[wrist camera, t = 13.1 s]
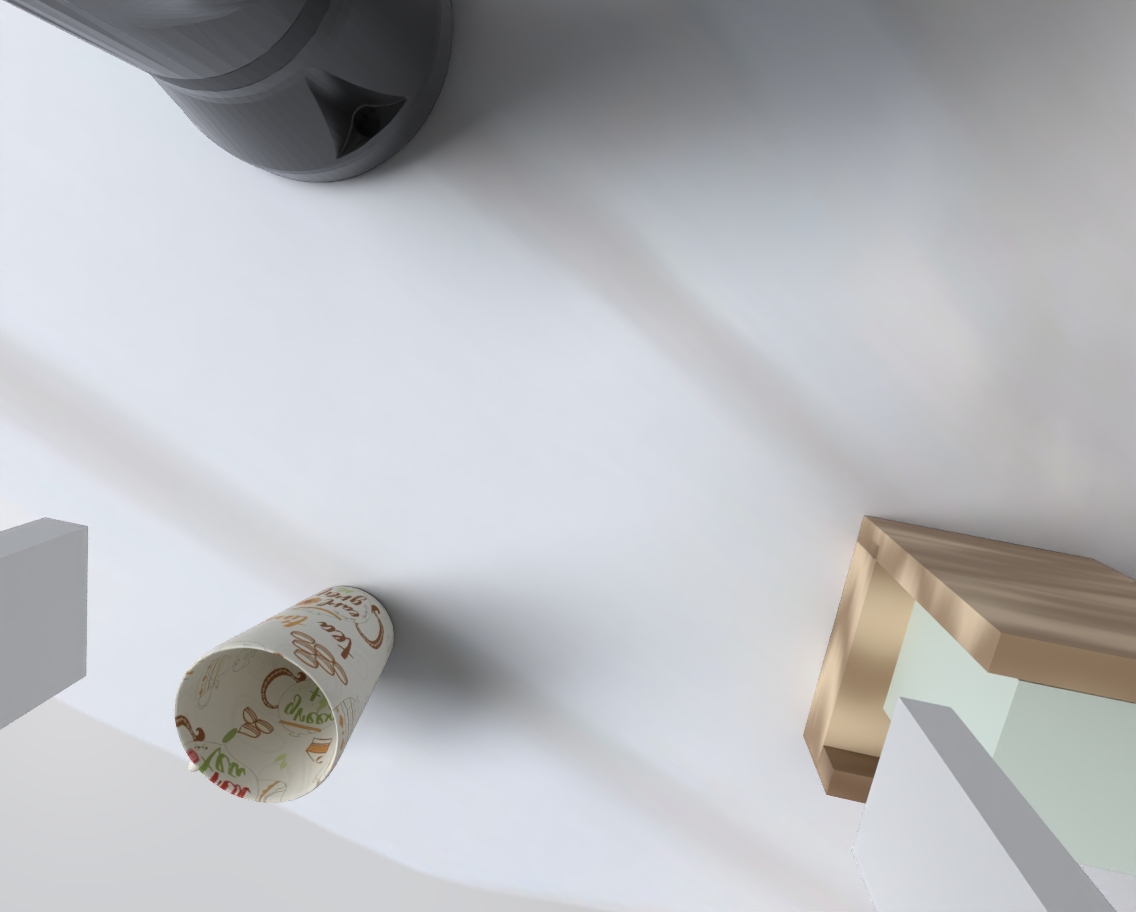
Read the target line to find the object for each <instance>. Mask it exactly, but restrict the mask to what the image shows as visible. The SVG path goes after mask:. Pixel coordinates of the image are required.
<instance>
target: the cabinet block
mask: <svg viewBox="0 0 1136 912" xmlns="http://www.w3.org/2000/svg"><path fill="white" fill-rule="evenodd" d="M899 696H900V697H904V698H909V699H914V700H919V701H923V702H928V703H933V704H938V705H942V706H947V707H951V708H952V709H953V710H954V711H955V713H956V714H957V715H958V716H959V718H960V719H961V720H962V721H963V722H964V724H965V725H966V726H967V727H968V729H969V730H970V731H971V732H972V734H973V735H974V736H975V737H976V739H977V740H978V741H979V742H980V743H981V745H982V746H983V747H984V748H985V750H986V751H987V752H988V753H989V755H990V756H991V757H992V758H993V760H994V761H995V762H996V763H997V765H998V766H999V767H1000V768H1001V769H1002V771H1003V772H1004V773H1005V774H1006V776H1007V777H1008V778H1009V779H1010V781H1011V782H1012V783H1013V784H1014V786H1015V787H1016V788H1017V789H1018V790H1019V792H1020V793H1021V794H1022V795H1023V797H1024V798H1025V799H1026V800H1027V802H1028V803H1029V804H1030V805H1031V807H1032V808H1033V809H1034V810H1035V811H1036V813H1037V814H1038V815H1039V816H1040V818H1041V819H1042V820H1043V821H1044V823H1045V824H1046V825H1047V826H1048V828H1049V829H1050V830H1051V831H1052V833H1053V834H1054V835H1055V836H1056V837H1057V839H1058V840H1059V841H1060V842H1061V844H1062V845H1063V846H1064V847H1065V849H1066V850H1067V851H1068V852H1069V854H1070V855H1071V856H1072V857H1073V858H1074V860H1075V861H1076V862H1077V863H1078V864H1082V865H1086V866H1091V867H1095V868H1100V869H1104V870H1109V871H1113V872H1118V873H1123V874H1127V875H1132V876H1136V703H1134V702H1129V701H1124V700H1119V699H1114V698H1109V697H1104V696H1099V695H1095V694H1090V693H1085V692H1080V691H1075V690H1070V689H1065V688H1060V687H1056V686H1051V685H1046V684H1041V683H1036V682H1031V681H1026V680H1021V679H1016V678H1012V677H1007V676H1002V675H997V674H992V673H988V672H987V671H986V670H985V669H984V668H983V667H982V666H981V665H980V664H979V663H978V662H977V661H976V660H975V659H974V658H973V657H972V656H971V655H970V654H969V653H968V652H967V651H966V650H965V649H964V648H963V647H962V646H961V645H960V644H959V643H958V642H957V641H956V640H955V639H954V638H953V637H952V636H951V635H950V634H949V633H948V632H947V631H946V630H945V629H944V628H943V627H942V626H941V625H940V624H939V623H938V622H937V621H936V620H935V619H934V618H933V617H932V616H931V615H930V614H929V613H928V612H927V611H926V610H925V609H924V608H923V607H922V606H921V605H920V604H919V603H918V602H917V601H916V600H915V603H914V606H913V610H912V613H911V617H910V620H909V623H908V627H907V630H906V633H905V637H904V640H903V643H902V647H901V650H900V654H899V657H898V660H897V664H896V667H895V670H894V674H893V677H892V680H891V684H890V687H889V691H888V694H887V697H886V701H885V704H884V707H883V709H884V711H885V712H886V714H887V716H888V717H889V719H890V720H892V717H893V714H894V710H895V707H896V704H897V701H898V697H899Z"/></svg>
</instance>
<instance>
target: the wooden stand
mask: <svg viewBox="0 0 1136 912" xmlns="http://www.w3.org/2000/svg"><path fill="white" fill-rule="evenodd" d="M915 600H916V601H917V602H918V603H919V604H920V605H921V606H922V607H923V608H924V609H925V610H926V611H927V612H928V613H929V614H930V615H931V616H932V617H933V618H934V619H935V620H936V621H937V622H938V623H939V624H940V625H941V626H942V627H943V628H944V629H945V630H946V631H947V632H948V633H949V634H950V635H951V636H952V637H953V638H954V639H955V640H956V641H957V642H958V643H959V644H960V645H961V646H962V647H963V648H964V649H965V650H966V651H967V652H968V653H969V654H970V655H971V656H972V657H973V658H974V659H975V660H976V661H977V662H978V663H979V664H980V665H981V666H982V667H983V668H984V669H985V670H986V671H987V672H988V673H992V674H997V675H1002V676H1007V677H1012V678H1016V679H1021V680H1026V681H1031V682H1036V683H1041V684H1046V685H1051V686H1056V687H1060V688H1065V689H1070V690H1075V691H1080V692H1085V693H1090V694H1095V695H1099V696H1104V697H1109V698H1114V699H1119V700H1124V701H1129V702H1134V703H1136V581H1135V580H1133V579H1131V578H1129V577H1127V576H1125V575H1123V574H1121V573H1119V572H1117V571H1115V570H1113V569H1111V568H1109V567H1108V566H1106V565H1104V564H1102V563H1100V562H1098V561H1096V560H1094V559H1091V558H1085V557H1080V556H1075V555H1069V554H1064V553H1059V552H1054V551H1048V550H1043V549H1038V548H1033V547H1027V546H1022V545H1017V544H1012V543H1006V542H1001V541H996V540H990V539H985V538H980V537H975V536H969V535H964V534H959V533H954V532H948V531H943V530H938V529H932V528H927V527H922V526H917V525H911V524H906V523H901V522H896V521H890V520H885V519H880V518H875V517H869V516H864V518H863V522H862V525H861V529H860V533H859V536H858V540H857V543H856V547H855V551H854V554H853V558H852V561H851V565H850V569H849V572H848V576H847V579H846V583H845V587H844V590H843V594H842V598H841V601H840V605H839V608H838V612H837V616H836V619H835V623H834V626H833V630H832V634H831V637H830V641H829V644H828V648H827V652H826V655H825V659H824V662H823V666H822V670H821V673H820V677H819V681H818V684H817V688H816V691H815V695H814V699H813V702H812V706H811V709H810V713H809V717H808V720H807V724H806V727H805V731H804V735H803V736H804V739H805V741H806V744H807V746H808V749H809V751H810V754H811V757H812V759H813V762H814V764H815V767H816V769H817V772H818V774H819V777H820V779H821V782H822V785H823V787H824V790H825V792H826V795H830V796H835V797H839V798H844V799H848V800H853V801H857V802H862V803H866V801H867V798H868V795H869V792H870V788H871V785H872V782H873V779H874V775H875V772H876V769H877V766H878V762H879V759H880V756H881V753H882V749H883V746H884V743H885V740H886V736H887V733H888V730H889V727H890V723H891V720H890V719H889V717H888V716H887V714H886V712H885V711H884V709H883V707H884V704H885V701H886V697H887V694H888V691H889V687H890V684H891V680H892V677H893V674H894V670H895V667H896V664H897V660H898V657H899V654H900V650H901V647H902V643H903V640H904V637H905V633H906V630H907V627H908V623H909V620H910V617H911V613H912V610H913V606H914V603H915Z"/></svg>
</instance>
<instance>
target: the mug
mask: <svg viewBox="0 0 1136 912" xmlns="http://www.w3.org/2000/svg"><path fill="white" fill-rule="evenodd" d="M393 642H394V630H393V625H392V622H391V619H390V617H389V615H388V613H387V611H386V610H385V608H384V607H383V606H382V605H381V603H380V602H379V601H378V600H376V599H375V598H374V597H373V596H371V595H370V594H368V593H366V592H364V591H362V590H360V589H357V588H353V587H347V586H337V587H332V588H328V589H325V590H323V591H320V592H318V593H316V594H314V595H313V596H311V597H309V598H307V599H305V600H303V601H301V602H299V603H298V604H296V605H294V606H292V607H290V608H288V609H286V610H284V611H282V612H281V613H279V614H277V615H275V616H273V617H271V618H269V619H267V620H266V621H264V622H262V623H260V624H258V625H256V626H254V627H252V628H250V629H249V630H247V631H245V632H243V633H241V634H239V635H237V636H235V637H234V638H232V639H230V640H228V641H226V642H224V643H222V644H220V645H219V646H217V647H215V648H214V649H212V650H210V651H209V652H207V653H206V654H204V655H203V656H202V657H200V658H199V659H198V660H197V661H196V662H195V663H194V664H193V665H192V666H191V667H190V668H189V670H188V671H187V673H186V674H185V675H184V677H183V679H182V681H181V683H180V685H179V688H178V691H177V695H176V699H175V722H176V727H177V731H178V735H179V738H180V740H181V743H182V745H183V747H184V749H185V751H186V753H187V754H188V756H189V758H190V759H191V762H190V763H189V766H188V769H189V771H191V772H195V771H198V770H200V771H201V772H202V773H203V774H204V775H205V776H206V777H207V778H208V779H209V780H210V781H212V782H213V783H214V784H216V785H218V786H219V787H220V788H222V789H223V790H225V791H227V792H229V793H231V794H233V795H236V796H238V797H241V798H244V799H248V800H251V801H256V802H264V803H277V802H285V801H290V800H294V799H297V798H300V797H302V796H304V795H306V794H308V793H309V792H311V791H312V790H314V789H315V788H317V787H318V786H319V785H320V784H321V783H322V782H323V781H324V780H325V779H326V778H327V777H328V776H329V774H330V773H331V772H332V770H333V769H334V767H335V765H336V764H337V762H338V760H339V758H340V757H341V755H342V753H343V751H344V748H345V746H346V744H347V742H348V740H349V738H350V736H351V734H352V732H353V730H354V728H355V726H356V724H357V722H358V720H359V718H360V716H361V714H362V712H363V709H364V707H365V705H366V703H367V701H368V699H369V697H370V695H371V693H372V691H373V689H374V687H375V685H376V683H377V681H378V679H379V677H380V675H381V673H382V671H383V668H384V666H385V664H386V662H387V660H388V658H389V656H390V653H391V651H392V647H393Z"/></svg>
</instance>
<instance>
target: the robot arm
mask: <svg viewBox="0 0 1136 912" xmlns="http://www.w3.org/2000/svg"><path fill="white" fill-rule="evenodd" d="M4 1H6V2H8V3H10V4H12V5H14V6H16V7H18V8H20V9H22V10H24V11H26V12H28V13H30V14H32V15H34V16H36V17H38V18H40V19H42V20H43V21H45V22H47V23H49V24H51V25H53V26H55V27H57V28H59V29H61V30H63V31H65V32H67V33H69V34H71V35H73V36H75V37H77V38H79V39H81V40H83V41H85V42H87V43H89V44H91V45H93V46H95V47H97V48H99V49H101V50H103V51H105V52H107V53H109V54H111V55H113V56H115V57H117V58H119V59H121V60H123V61H125V62H127V63H129V64H131V65H133V66H135V67H137V68H139V69H141V70H143V71H145V72H147V73H149V74H150V75H151V76H152V77H153V78H154V79H155V80H156V81H157V83H158V84H159V85H160V86H161V87H162V88H163V89H164V90H165V92H166V93H167V94H168V95H169V96H170V97H171V98H172V99H173V100H174V101H175V102H176V104H177V105H178V106H179V107H180V108H181V109H182V110H183V111H184V113H185V114H186V115H187V116H188V118H189V119H190V120H191V121H192V122H193V123H194V125H195V126H196V127H197V128H198V129H199V130H200V131H201V132H203V133H204V134H205V135H206V136H207V137H208V138H209V139H211V140H212V141H213V142H214V143H216V144H217V145H218V146H220V147H221V148H223V149H224V150H226V151H227V152H228V153H230V154H232V155H233V156H235V157H237V158H239V159H240V160H243V161H245V162H247V163H249V164H251V165H254V166H256V167H258V168H261V169H263V170H266V171H268V172H270V173H273V174H276V175H278V176H282V177H285V178H289V179H293V180H298V181H306V182H329V181H337V180H342V179H347V178H350V177H354V176H357V175H359V174H362V173H364V172H367V171H369V170H371V169H373V168H375V167H377V166H378V165H380V164H382V163H383V162H385V161H386V160H388V159H389V158H391V157H392V156H393V155H395V154H396V153H397V152H398V151H399V150H400V149H402V148H403V147H404V146H405V145H406V144H407V143H408V142H409V141H410V139H411V138H412V137H413V136H414V135H415V134H416V132H417V131H418V130H419V128H420V127H421V126H422V124H423V123H424V121H425V120H426V118H427V117H428V115H429V113H430V111H431V110H432V108H433V106H434V104H435V102H436V100H437V97H438V95H439V93H440V90H441V87H442V85H443V82H444V78H445V75H446V71H447V67H448V62H449V57H450V51H451V42H452V8H451V0H4ZM87 565H88V526H84V525H79V524H74V523H70V522H65V521H60V520H55V519H51V518H46V517H45V518H42V519H39V520H36V521H32V522H29V523H26V524H23V525H20V526H17V527H14V528H10V529H7V530H4V531H1V532H0V729H2V728H4V727H5V726H7V725H8V724H10V723H12V722H13V721H15V720H16V719H18V718H19V717H21V716H23V715H24V714H26V713H27V712H29V711H31V710H32V709H34V708H35V707H37V706H38V705H40V704H42V703H43V702H45V701H47V700H48V699H50V698H51V697H53V696H55V695H56V694H58V693H59V692H61V691H63V690H64V689H66V688H67V687H69V686H70V685H72V684H74V683H75V682H77V681H78V680H80V679H82V678H83V677H85V676H86V646H87ZM851 851H852V853H853V856H854V858H855V861H856V863H857V866H858V868H859V871H860V873H861V876H862V879H863V881H864V884H865V886H866V889H867V891H868V894H869V896H870V899H871V901H872V904H873V906H874V909H875V911H876V912H1116V910H1115V909H1114V908H1113V907H1112V905H1111V904H1110V903H1109V902H1108V901H1107V899H1106V898H1105V897H1104V896H1103V894H1102V893H1101V892H1100V891H1099V889H1098V888H1097V887H1096V886H1095V884H1094V883H1093V882H1092V881H1091V879H1090V878H1089V877H1088V876H1087V875H1086V873H1085V872H1084V871H1083V870H1082V868H1081V867H1080V866H1079V865H1078V863H1077V862H1076V861H1075V860H1074V858H1073V857H1072V856H1071V855H1070V854H1069V852H1068V851H1067V850H1066V849H1065V847H1064V846H1063V845H1062V844H1061V842H1060V841H1059V840H1058V839H1057V837H1056V836H1055V835H1054V834H1053V833H1052V831H1051V830H1050V829H1049V828H1048V826H1047V825H1046V824H1045V823H1044V821H1043V820H1042V819H1041V818H1040V816H1039V815H1038V814H1037V813H1036V811H1035V810H1034V809H1033V808H1032V807H1031V805H1030V804H1029V803H1028V802H1027V800H1026V799H1025V798H1024V797H1023V795H1022V794H1021V793H1020V792H1019V790H1018V789H1017V788H1016V787H1015V786H1014V784H1013V783H1012V782H1011V781H1010V779H1009V778H1008V777H1007V776H1006V774H1005V773H1004V772H1003V771H1002V769H1001V768H1000V767H999V766H998V765H997V763H996V762H995V761H994V760H993V758H992V757H991V756H990V755H989V753H988V752H987V751H986V750H985V748H984V747H983V746H982V745H981V743H980V742H979V741H978V740H977V739H976V737H975V736H974V735H973V734H972V732H971V731H970V730H969V729H968V727H967V726H966V725H965V724H964V722H963V721H962V720H961V719H960V718H959V716H958V715H957V714H956V713H955V711H954V710H953V709H952V708H951V707H947V706H942V705H938V704H933V703H928V702H923V701H919V700H914V699H909V698H904V697H900V696H899V697H898V701H897V704H896V707H895V710H894V714H893V717H892V720H891V723H890V727H889V730H888V733H887V736H886V740H885V743H884V746H883V749H882V753H881V756H880V759H879V762H878V766H877V769H876V772H875V775H874V779H873V782H872V785H871V788H870V792H869V795H868V798H867V801H866V805H865V808H864V811H863V814H862V818H861V821H860V824H859V827H858V831H857V834H856V837H855V840H854V844H853V847H852V850H851Z"/></svg>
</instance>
